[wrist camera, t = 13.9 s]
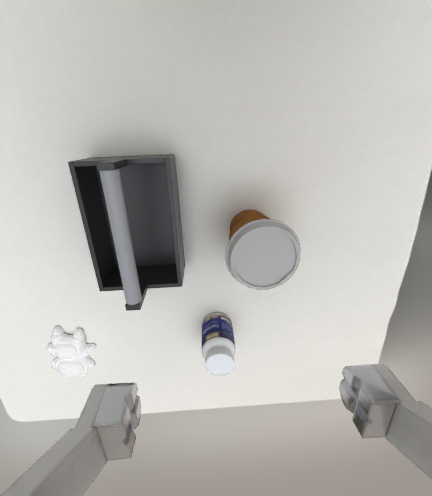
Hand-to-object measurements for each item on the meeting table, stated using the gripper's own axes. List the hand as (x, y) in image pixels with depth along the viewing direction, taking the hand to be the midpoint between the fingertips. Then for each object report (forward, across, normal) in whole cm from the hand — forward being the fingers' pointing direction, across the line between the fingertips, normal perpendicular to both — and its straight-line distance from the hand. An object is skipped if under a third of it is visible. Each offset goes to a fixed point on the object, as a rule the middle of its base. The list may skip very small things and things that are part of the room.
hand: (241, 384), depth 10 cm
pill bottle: (+33, 0, +24) cm, 41 cm away
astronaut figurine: (+33, +28, +28) cm, 52 cm away
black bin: (+33, +11, +2) cm, 35 cm away
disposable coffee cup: (+33, -6, +5) cm, 34 cm away
